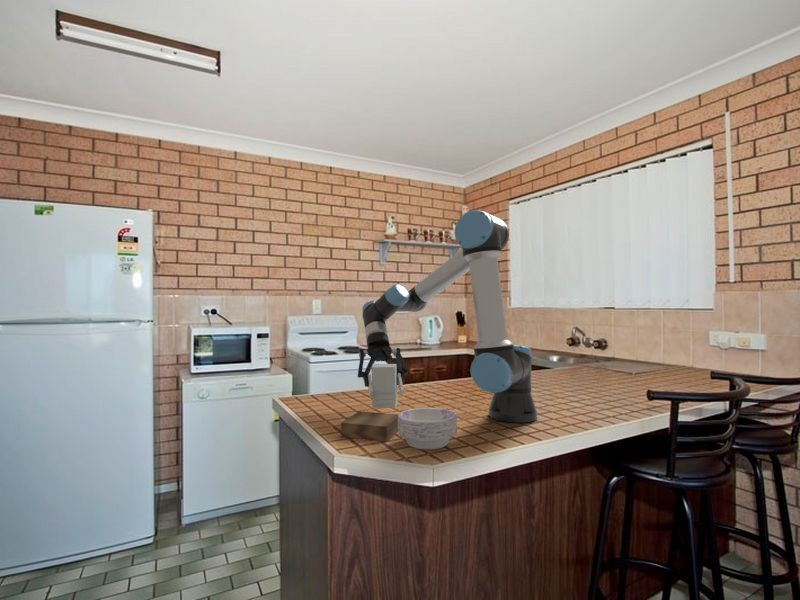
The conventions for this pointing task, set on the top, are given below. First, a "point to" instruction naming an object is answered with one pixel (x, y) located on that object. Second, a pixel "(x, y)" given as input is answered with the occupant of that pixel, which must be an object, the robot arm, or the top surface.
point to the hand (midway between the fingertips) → (386, 393)
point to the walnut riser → (370, 426)
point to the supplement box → (384, 385)
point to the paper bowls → (427, 427)
